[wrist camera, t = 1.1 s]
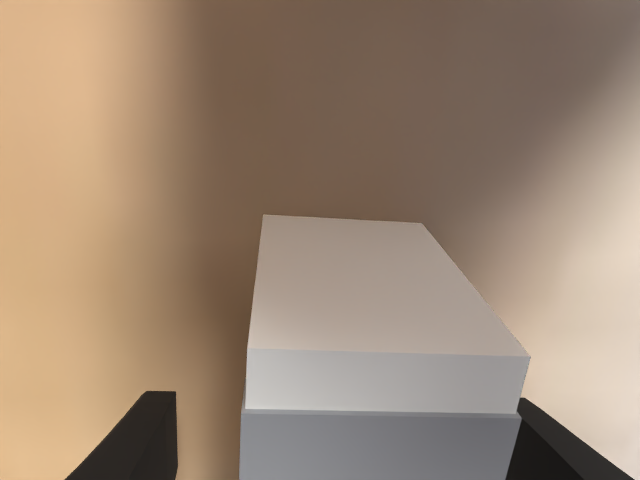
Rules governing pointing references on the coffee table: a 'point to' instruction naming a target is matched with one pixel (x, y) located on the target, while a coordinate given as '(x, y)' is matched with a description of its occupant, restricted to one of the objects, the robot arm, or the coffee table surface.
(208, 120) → the coffee table surface
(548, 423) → the robot arm
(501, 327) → the white and grey box
